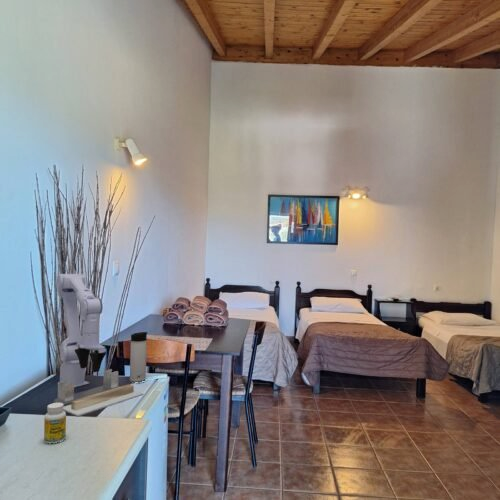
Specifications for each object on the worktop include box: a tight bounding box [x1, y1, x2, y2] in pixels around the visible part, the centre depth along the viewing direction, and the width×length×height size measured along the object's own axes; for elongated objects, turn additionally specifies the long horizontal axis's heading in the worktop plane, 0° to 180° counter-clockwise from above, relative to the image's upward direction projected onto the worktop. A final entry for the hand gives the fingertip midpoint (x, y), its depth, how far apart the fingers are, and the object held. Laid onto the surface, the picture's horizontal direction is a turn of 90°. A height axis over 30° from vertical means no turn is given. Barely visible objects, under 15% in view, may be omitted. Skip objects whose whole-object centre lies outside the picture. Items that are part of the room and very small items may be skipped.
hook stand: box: [53, 368, 121, 406], centre depth 146 cm, size 6×23×7 cm, turn 145°
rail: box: [71, 383, 135, 411], centre depth 141 cm, size 2×23×2 cm, turn 144°
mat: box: [63, 389, 144, 417], centre depth 141 cm, size 10×26×1 cm, turn 145°
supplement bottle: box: [43, 402, 67, 445], centre depth 111 cm, size 5×5×10 cm
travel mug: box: [129, 331, 148, 384], centre depth 164 cm, size 6×7×20 cm
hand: (89, 369), depth 146 cm, fingers open, 7 cm apart
